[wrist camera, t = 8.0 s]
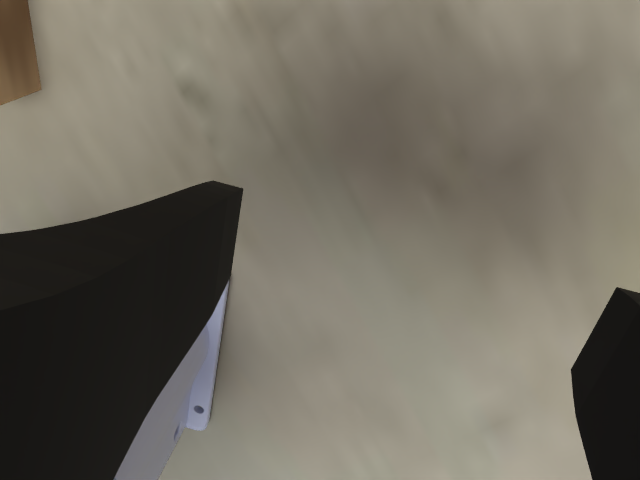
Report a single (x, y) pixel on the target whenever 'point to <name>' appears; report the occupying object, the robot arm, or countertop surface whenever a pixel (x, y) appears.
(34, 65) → the oak block
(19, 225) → the countertop surface
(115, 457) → the robot arm
